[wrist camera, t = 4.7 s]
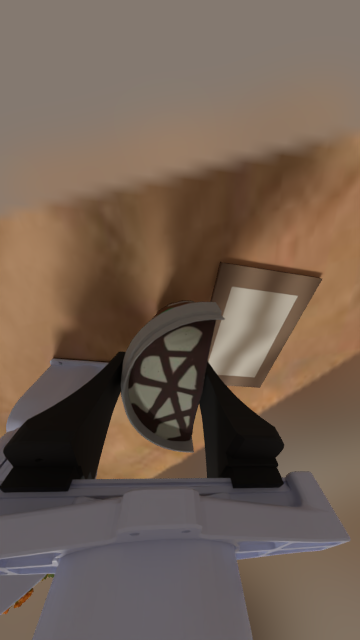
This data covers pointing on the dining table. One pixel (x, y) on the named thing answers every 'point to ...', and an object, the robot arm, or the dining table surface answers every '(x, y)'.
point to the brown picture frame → (254, 320)
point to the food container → (169, 372)
